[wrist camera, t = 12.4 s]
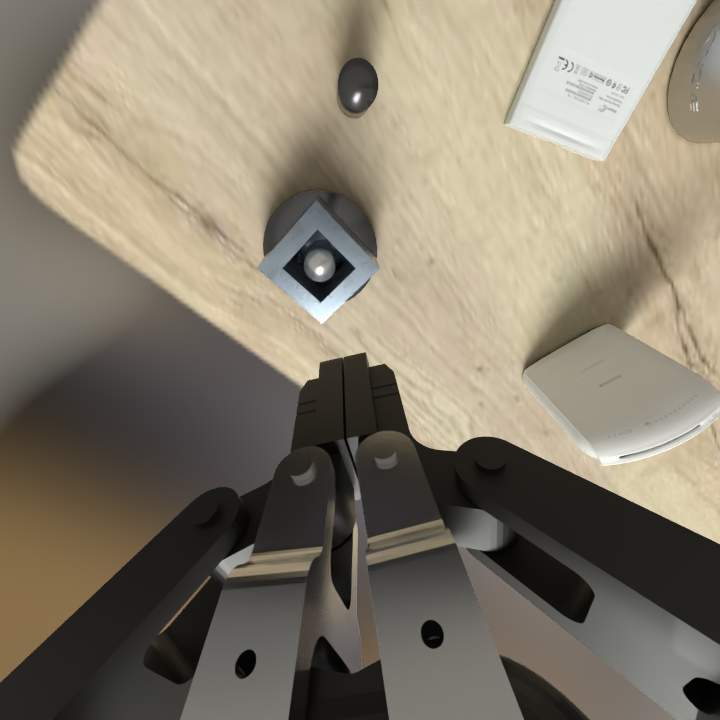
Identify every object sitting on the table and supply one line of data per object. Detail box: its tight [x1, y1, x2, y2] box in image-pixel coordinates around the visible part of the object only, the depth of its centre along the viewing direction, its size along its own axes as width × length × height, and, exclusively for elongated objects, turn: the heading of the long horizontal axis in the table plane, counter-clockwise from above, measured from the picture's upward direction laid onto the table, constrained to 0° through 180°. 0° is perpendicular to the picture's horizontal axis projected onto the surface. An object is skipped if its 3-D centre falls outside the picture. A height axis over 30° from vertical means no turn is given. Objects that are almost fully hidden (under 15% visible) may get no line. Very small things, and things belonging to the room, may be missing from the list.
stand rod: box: [337, 58, 378, 118], centre depth 20 cm, size 2×2×4 cm
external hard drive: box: [504, 0, 697, 161], centre depth 20 cm, size 2×8×12 cm
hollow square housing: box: [257, 194, 380, 323], centre depth 24 cm, size 6×6×4 cm
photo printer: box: [522, 324, 720, 466], centre depth 29 cm, size 10×4×12 cm, turn 126°
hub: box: [263, 190, 377, 302], centre depth 25 cm, size 9×9×4 cm
